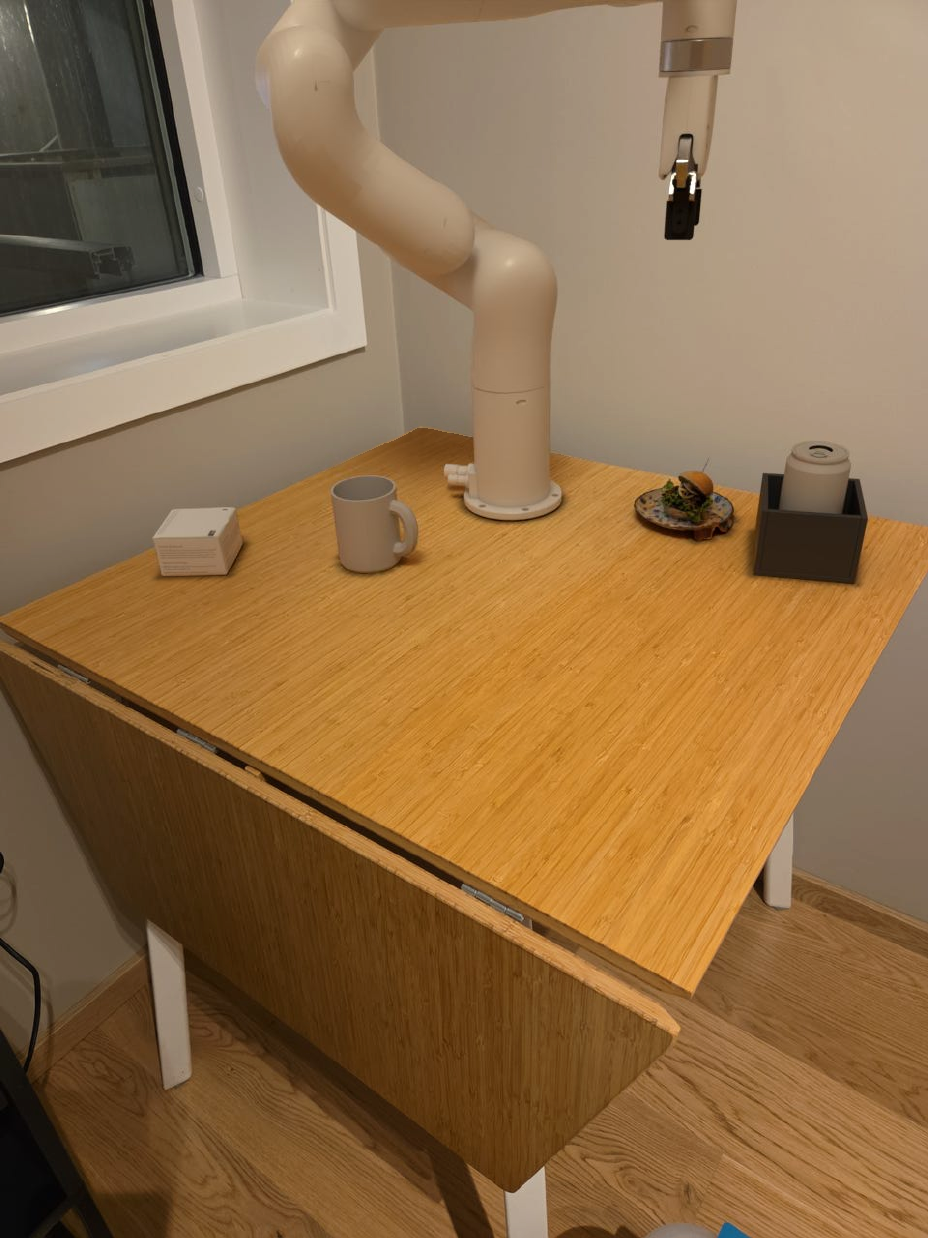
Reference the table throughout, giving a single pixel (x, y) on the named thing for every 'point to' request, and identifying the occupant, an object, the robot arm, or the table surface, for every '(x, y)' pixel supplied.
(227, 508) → the small box
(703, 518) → the burger on plate
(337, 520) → the cup
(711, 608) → the table surface
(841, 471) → the beverage can
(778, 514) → the bin
